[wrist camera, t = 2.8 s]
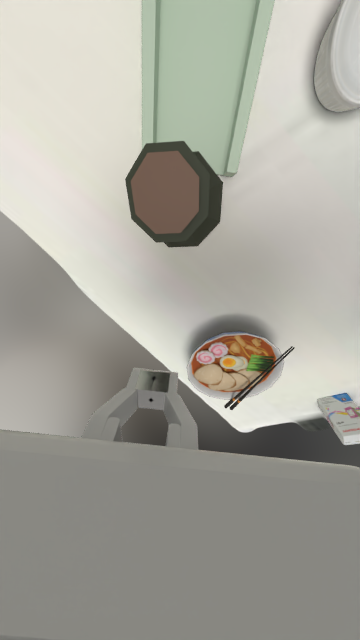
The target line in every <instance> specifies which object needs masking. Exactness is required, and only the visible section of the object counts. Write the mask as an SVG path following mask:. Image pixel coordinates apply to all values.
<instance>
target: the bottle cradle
mask: <svg viewBox="0 0 360 640" xmlns="http://www.w3.org/2000/svg"><path fill="white" fill-rule="evenodd" d="M274 1H275V0H142V149H143V148H144V146H145V144H146V143H158V142H172V141H185V143H186V144H187V145H188V147H189V148H190V149H191V150H192V152H195V151H199V152H200V154H201V155H202V156H203V157H204V159H205V160H206V161H207V163H208V164H209V165H210V167H211V168H212V169H213V170H214V172H215V173H216V174H217V175H222V176H230V177H232V176H234V175H235V174H236V173H237V169H238V165H239V160H240V156H241V151H242V147H243V142H244V138H245V133H246V128H247V124H248V119H249V115H250V110H251V106H252V101H253V97H254V92H255V88H256V83H257V78H258V74H259V69H260V65H261V60H262V56H263V51H264V47H265V42H266V38H267V33H268V29H269V24H270V19H271V15H272V10H273V6H274Z"/></svg>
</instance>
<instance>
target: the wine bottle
mask: <svg viewBox="0 0 360 640" xmlns="http://www.w3.org/2000/svg"><path fill="white" fill-rule="evenodd" d="M125 180H126V187H127V193H128V199H129V205H130V212H131V218H132V220H133V221H134V222H135V223H136V224H137V225H138V226H140V227H141V228H142V229H143V230H144V231H145V232H146V233H147V234H148V235H149V236H150V237H151V238H152V239H153V240H154V241H155V242H164V243H165V244H166V245H167V246H168V247H188V246H198V245H199V244H200V243H201V242H202V241H203V240H204V239H205V238H206V237H207V235H208V234H209V233H210V232H211V231H212V230H213V229H214V228H215V227H216V226H217V225H218V224H219V222H220V215H221V201H222V187H223V182H222V181H221V180H220V178H219V177H218V176H217V174H216V173H215V172H214V170H213V169H212V168H211V167H210V165H209V164H208V163H207V161H206V160H205V159H204V157H203V156H202V155H201V154H200V152H199V151H195V152H192V150H191V149H190V148H189V147H188V145H187V144H186V143H185V141H172V142H158V143H146V144H145V146H144V148H143V149H142V151H141V153H140V155H139V156H138V158H137V160H136V161H135V163H134V165H133V167H132V168H131V170H130V172H129V174H128V175H127V177H126V179H125Z"/></svg>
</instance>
